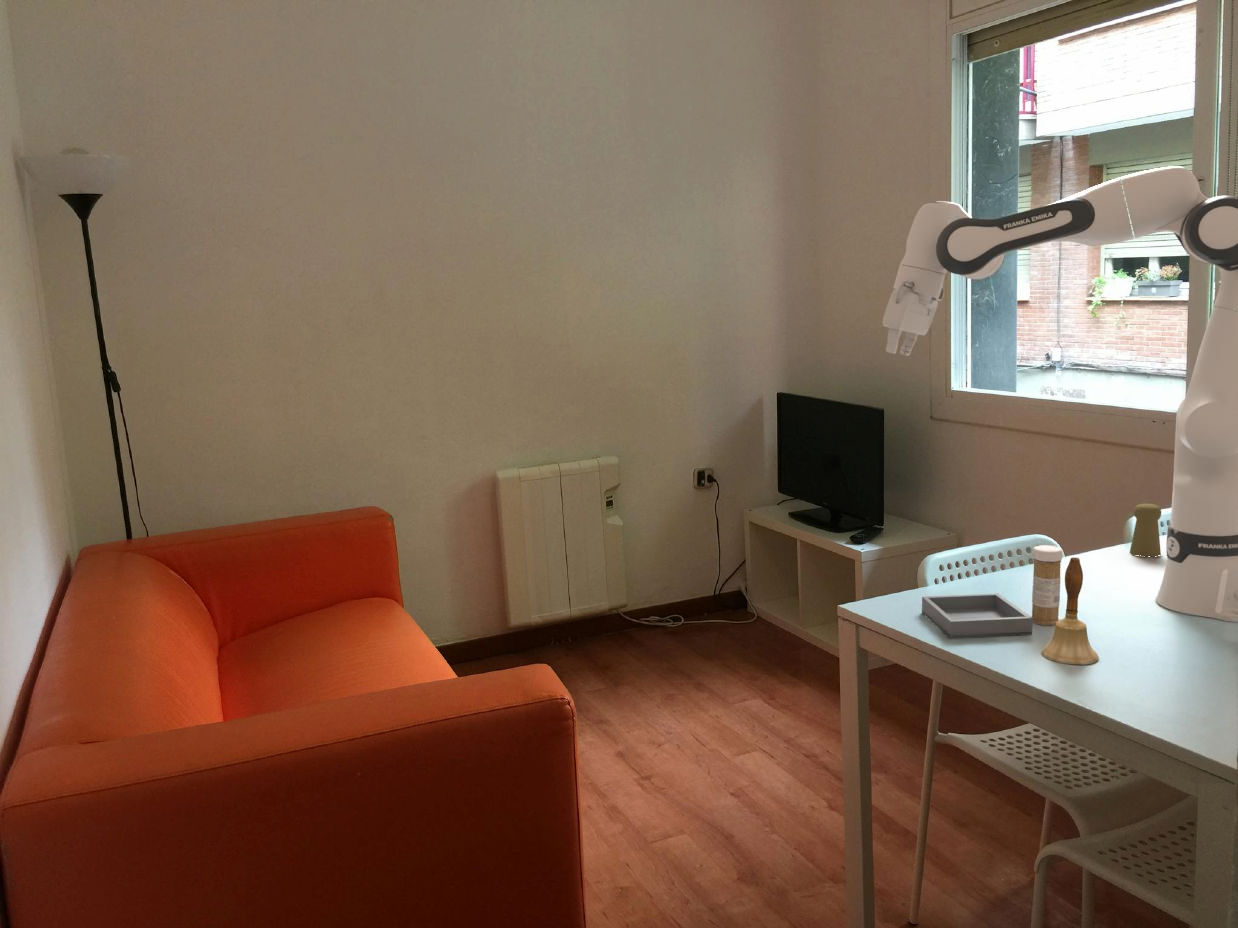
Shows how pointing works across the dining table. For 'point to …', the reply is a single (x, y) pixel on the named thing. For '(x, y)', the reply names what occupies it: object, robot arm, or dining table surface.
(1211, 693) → the dining table surface
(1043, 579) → the sprinkles bottle
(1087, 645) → the hand bell
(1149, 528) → the cork
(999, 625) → the box
